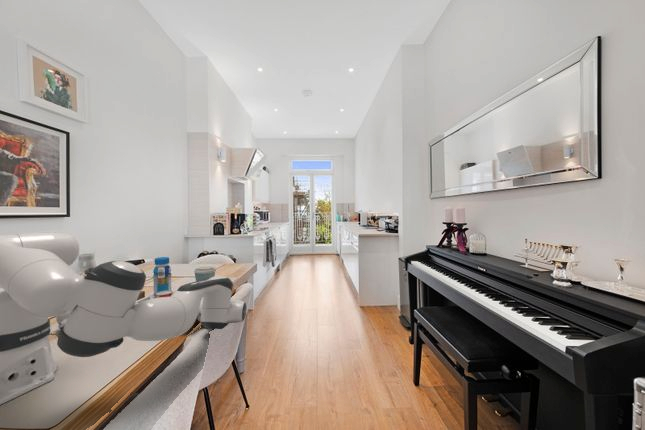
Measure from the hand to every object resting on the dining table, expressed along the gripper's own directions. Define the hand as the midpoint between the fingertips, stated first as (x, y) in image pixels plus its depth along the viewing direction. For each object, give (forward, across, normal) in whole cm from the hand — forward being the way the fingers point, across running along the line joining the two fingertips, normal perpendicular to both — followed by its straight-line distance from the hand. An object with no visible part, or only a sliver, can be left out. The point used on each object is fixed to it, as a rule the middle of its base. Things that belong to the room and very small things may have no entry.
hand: (174, 309), depth 111 cm
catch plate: (+15, 0, -4) cm, 16 cm away
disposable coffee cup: (+7, +35, -5) cm, 36 cm away
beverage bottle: (+29, +32, -5) cm, 43 cm away
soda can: (+4, 0, -5) cm, 7 cm away
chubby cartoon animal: (+35, -12, -5) cm, 37 cm away
